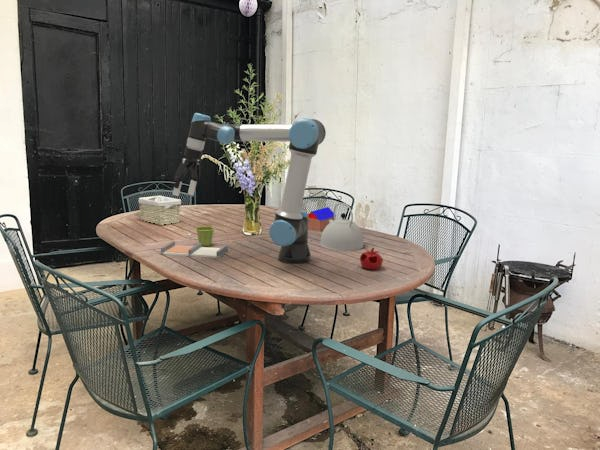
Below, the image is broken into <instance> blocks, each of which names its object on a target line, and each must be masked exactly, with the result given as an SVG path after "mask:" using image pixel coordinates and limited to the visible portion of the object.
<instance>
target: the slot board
mask: <svg viewBox="0 0 600 450" xmlns="http://www.w3.org/2000/svg"><path fill="white" fill-rule="evenodd" d="M228 248H229V245H228V244H224V245H223V246H222V247H210V246H201V243H199V242H198V243H196V244H195V245H193V246H191V245H176V241H173V240H172V241H170V242H169V243H168V244H165V245H163V246H162V247H160V254H161V255H162V256H163V255H164V256H165V255H167V256H180V257H181V256H182V257H197V258H210V259H220V258H221V257H222V256H223V255H225V253H227V252H228V251H229V250H228Z"/></svg>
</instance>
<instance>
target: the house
mask: <svg viewBox="0 0 600 450" xmlns="http://www.w3.org/2000/svg"><path fill="white" fill-rule="evenodd" d="M335 217H336V218H337V215H336V214H335ZM308 218H309V220H308V231H309V230H310V231H316V232H323V230H324V229H325V227H326V226H327V225H328V224H329V220H333V221H334V220H335V219H334V211H333V210H332V209H331V208H330V207H329V206H327V207H324V208H323V207H322V208H320V209H319V208H318V209H315V210H313V211H311V212H309V213H308Z"/></svg>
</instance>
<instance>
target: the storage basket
mask: <svg viewBox="0 0 600 450" xmlns="http://www.w3.org/2000/svg"><path fill="white" fill-rule="evenodd" d="M137 203H138V204H139V214H140V221H142V220H144V221H143V222H145V221H147V222H146V223H149V222H151V223H150V224H153V223H155V225H159V226H165V225H164V224H166V225H172V224H179V222H180V217H181V205H182V200H181V199H180V198H176V197H175V198H174V197H168V196H164V195H154V196H145V197H139V198H138V201H137ZM171 223H172V224H171Z"/></svg>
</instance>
